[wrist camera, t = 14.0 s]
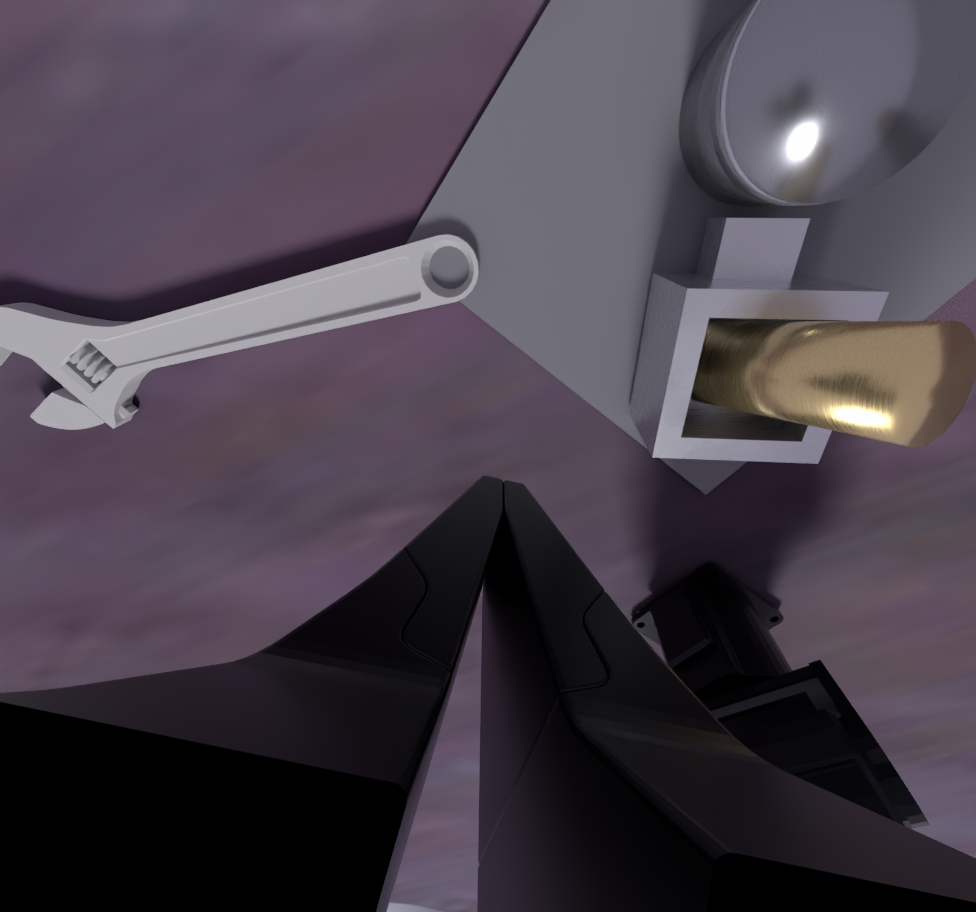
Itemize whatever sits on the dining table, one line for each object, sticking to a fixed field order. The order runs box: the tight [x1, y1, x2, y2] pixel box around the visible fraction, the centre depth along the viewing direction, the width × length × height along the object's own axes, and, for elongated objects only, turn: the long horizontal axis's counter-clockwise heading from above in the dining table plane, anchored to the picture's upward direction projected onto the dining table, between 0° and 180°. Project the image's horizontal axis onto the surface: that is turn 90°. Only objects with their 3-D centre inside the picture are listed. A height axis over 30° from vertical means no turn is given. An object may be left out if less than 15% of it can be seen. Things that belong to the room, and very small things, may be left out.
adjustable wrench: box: [0, 234, 480, 430], centre depth 21 cm, size 25×6×2 cm, turn 99°
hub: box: [679, 0, 976, 206], centre depth 14 cm, size 6×6×5 cm
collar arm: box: [629, 217, 889, 464], centre depth 14 cm, size 20×6×4 cm, turn 0°
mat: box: [405, 0, 976, 495], centre depth 17 cm, size 19×18×1 cm
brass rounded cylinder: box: [690, 321, 976, 447], centre depth 15 cm, size 3×3×8 cm
